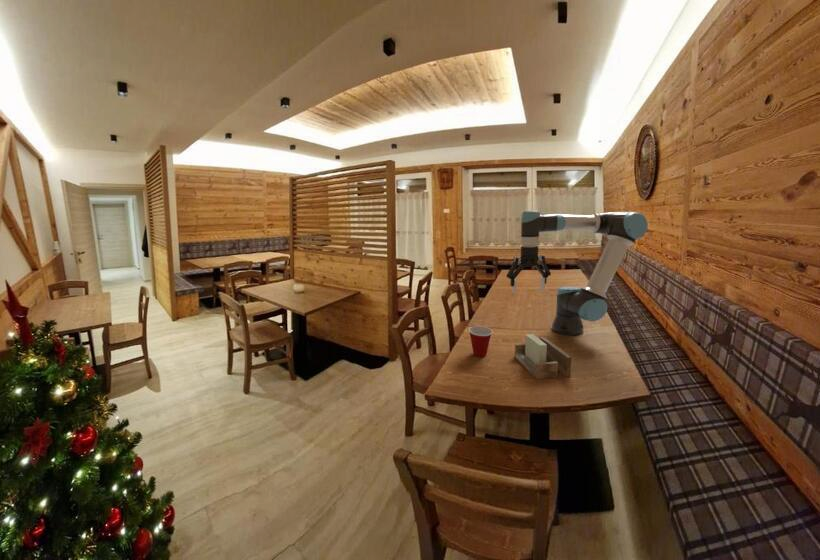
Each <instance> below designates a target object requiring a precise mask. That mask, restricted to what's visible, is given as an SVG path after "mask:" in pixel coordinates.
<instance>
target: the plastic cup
mask: <svg viewBox="0 0 820 560" xmlns="http://www.w3.org/2000/svg"><path fill="white" fill-rule="evenodd" d="M468 332H469V337H470V343H471V348H472V352H473V355H474V356H476V357H479V358H482V357H486V356H487V353H488V351H489V343H490V342H491V341H490V340H491V336H492V334H493V333H494V331H493V329H491V328H490V327H487V326H483V325H472V326H470V327H468Z"/></svg>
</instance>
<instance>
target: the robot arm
mask: <svg viewBox="0 0 820 560" xmlns="http://www.w3.org/2000/svg"><path fill="white" fill-rule="evenodd" d="M521 213H522V214H521V220H520V222H521V223H520V225H521V229H520V233H521V234H520V246H521V247H520V257H517V256H514V257H513V260H512V261H513V262H512V264H511V265H510V268H509V270H508V272H507V274H506V278H507V279H510V283H509V284H510V287H511V293H513V294H517V279H516V278H517V277H518V276H519V274H520V273H522V271H523V270H524V268H525V267H526V268H529V267H534V268H535V269H536V270H537V271H538V273H539V274H540V275H541V276H540V277H539V279H540V280H539V281H540V282H539V291H540V292H545V291H546V290H545V288H546V287H545V286H546V284H547V278H548V277H549V276H551V275H552V273H551V271H550V268H549V267H548V264H547V262H546V257H545V256H544V255H539V245H540V233H545V232H560V231H583V232H587V231H588V232H589V233H591V234H600V235H606V238H607V239H608V241H607V242H606V245H605V247H604V249H603V251H602V254H601V255H600V257H599V259H598V262H597V264H596V265H595V268H594V270H593V272H592V274H591V275H590V277H589V280H588V282H587V284H586V286H583V287H579V286H564V287H560V288H558V289H557V292H556V310H555V317H554V319H553V322H552V324H551V330H552V331H553V332H555V333H558V334H561V335H562V334H563V335H566V336H567V335H568V336H569V335H570V336H576V335H581V334H583V333H584V324H583V320H584V321H586V322H587V321H588V322H590V323H591V322H597V321H601V320H602V318H604V317H605V316H606V314H607V310H608V304H607V302H606V300H607V294H606V292H607V290H608V289H609V287H610V285H611V282H612V281H613V278H614V277H615V274H616V272H617V270H618V268H619V267H620V265H621V262H622V260H623V259H624V256H625V254H626V252H627V250H628V248H629V247H631V246H633V245H634V244H635V242H636V241H637V240H638V239H641V238H643V237H644V236H645V235H646V234H647V231H648V228H649V225H648V224H649V223H648V220H647V218H646V216H645V215H644V214H643V213H640V212H634V211H610V212H609V211H608V212H601V213H591V214H590V215H589V214H585V215H584V214H562V213H551V214H550V213H548V214H547V213H541V211H540V210H524V211H522V212H521ZM538 261H540V264H541V266H542V267H541V266H540V264H539V263H538ZM518 264H519V265H518Z"/></svg>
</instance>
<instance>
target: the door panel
mask: <svg viewBox="0 0 820 560" xmlns="http://www.w3.org/2000/svg"><path fill="white" fill-rule="evenodd" d="M524 343H525V357H526V358H527V359H528V360H529V361H530V362H532V363H533V364H534V365H535V366H536V363H545V362H547V360H546V352H547V345H546V344H545V343H544V342H543V341H541V340H540V337H537V336H536V335H534V334H533V333H527V334H525V342H524Z"/></svg>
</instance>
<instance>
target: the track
mask: <svg viewBox="0 0 820 560" xmlns="http://www.w3.org/2000/svg"><path fill="white" fill-rule="evenodd" d="M539 339H540V340H541V341H543V342H544V343H545V344H546V345H547V352H546V362H545V363H536V366H535V365H534V364H533V363H532V362H530V361H529V360H528V359H527V358H526V357H525V342H524V343H514V357H515V359H516V360H517V361H518V362H520V363H521V365H523V366H524V367H525V369H527V371H529V372H530V373H531V375H533V377H535V378H536V380H544V379H551V378H554V379H555V378H558V372H561V374H563V375H564V376H565V377H571V372H572V369H571V368H572V356H570V355H569V354H568V353H566V352H565V351H564V350H562V349H561V348H560V347H558V346H557V345H555V343H553V342H551V341H550V340H549V339H547V338H546V337H545V336H540V337H539Z"/></svg>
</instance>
